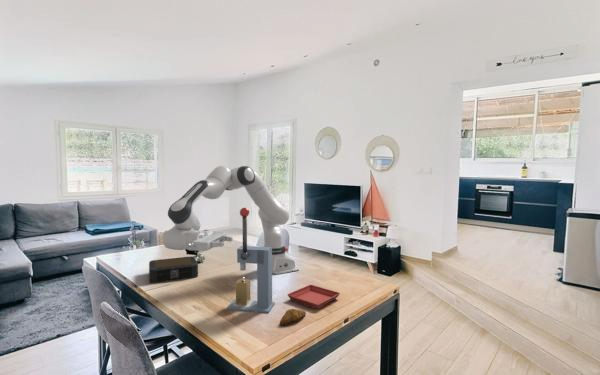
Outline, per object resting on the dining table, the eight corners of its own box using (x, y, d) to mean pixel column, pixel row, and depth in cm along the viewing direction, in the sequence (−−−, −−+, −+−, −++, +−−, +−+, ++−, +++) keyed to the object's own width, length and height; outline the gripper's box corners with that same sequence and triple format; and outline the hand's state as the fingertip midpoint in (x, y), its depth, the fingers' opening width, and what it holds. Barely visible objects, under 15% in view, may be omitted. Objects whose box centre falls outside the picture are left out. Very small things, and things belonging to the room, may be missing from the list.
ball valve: (197, 266, 206) (196, 238, 205) (184, 265, 208) (184, 237, 206) (210, 258, 223) (210, 232, 222) (198, 257, 225) (198, 232, 224)
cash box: (149, 284, 175) (149, 270, 174) (149, 273, 193) (149, 260, 193) (198, 278, 185) (198, 264, 185) (194, 268, 203) (194, 255, 203)
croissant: (298, 313, 141) (298, 301, 141) (310, 318, 136) (310, 306, 136) (274, 323, 131) (274, 311, 131) (286, 329, 127) (286, 316, 126)
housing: (235, 304, 146) (235, 279, 146) (239, 300, 151) (239, 275, 151) (246, 305, 146) (246, 279, 145) (250, 301, 150) (250, 276, 150)
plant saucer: (310, 290, 167) (310, 283, 167) (340, 299, 156) (340, 292, 156) (286, 301, 153) (286, 294, 153) (318, 312, 142) (318, 304, 142)
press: (226, 309, 144) (225, 250, 142) (234, 300, 153) (234, 245, 152) (268, 313, 140) (268, 252, 139) (274, 303, 150) (274, 246, 148)
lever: (238, 260, 139) (238, 208, 138) (242, 257, 143) (241, 207, 142) (247, 260, 139) (247, 208, 137) (251, 258, 143) (250, 207, 141)
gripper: (185, 238, 135) (217, 239, 132) (208, 229, 155) (236, 229, 152) (185, 253, 135) (217, 255, 132) (208, 242, 155) (236, 243, 153)
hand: (227, 241), depth 142 cm, fingers open, 8 cm apart
